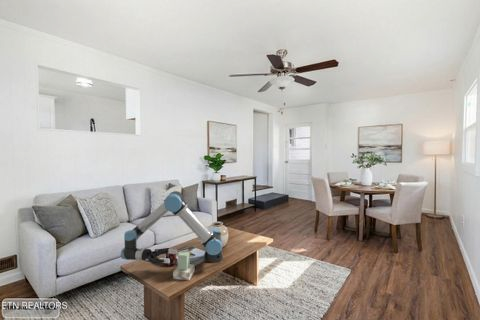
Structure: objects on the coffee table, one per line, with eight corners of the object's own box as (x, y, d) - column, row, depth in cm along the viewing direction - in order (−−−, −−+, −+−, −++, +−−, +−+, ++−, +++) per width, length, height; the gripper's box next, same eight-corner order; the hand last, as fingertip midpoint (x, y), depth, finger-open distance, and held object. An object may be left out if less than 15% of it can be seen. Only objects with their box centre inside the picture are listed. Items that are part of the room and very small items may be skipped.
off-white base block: (194, 271, 163) (194, 264, 163) (189, 280, 152) (189, 272, 152) (179, 270, 164) (179, 263, 164) (173, 279, 154) (173, 271, 153)
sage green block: (189, 265, 161) (189, 251, 160) (186, 270, 155) (186, 255, 154) (181, 265, 161) (181, 251, 161) (178, 269, 156) (177, 255, 155)
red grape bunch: (171, 267, 168) (171, 253, 168) (162, 262, 176) (161, 248, 176) (179, 264, 174) (179, 250, 173) (170, 259, 182) (169, 246, 181)
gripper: (152, 252, 173) (180, 253, 171) (133, 269, 149) (165, 271, 146) (152, 242, 173) (180, 243, 171) (133, 257, 148) (165, 259, 146)
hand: (173, 256), depth 159 cm, fingers open, 13 cm apart
